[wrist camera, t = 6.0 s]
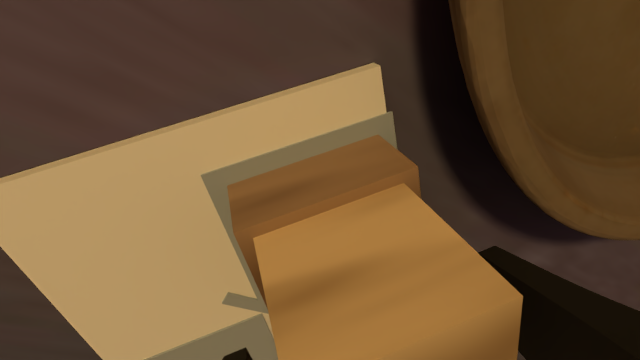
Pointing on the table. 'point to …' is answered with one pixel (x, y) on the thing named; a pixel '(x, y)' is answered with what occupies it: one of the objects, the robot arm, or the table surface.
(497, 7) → the plant saucer
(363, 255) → the oak block
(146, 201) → the board
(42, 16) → the table surface
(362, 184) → the walnut block
